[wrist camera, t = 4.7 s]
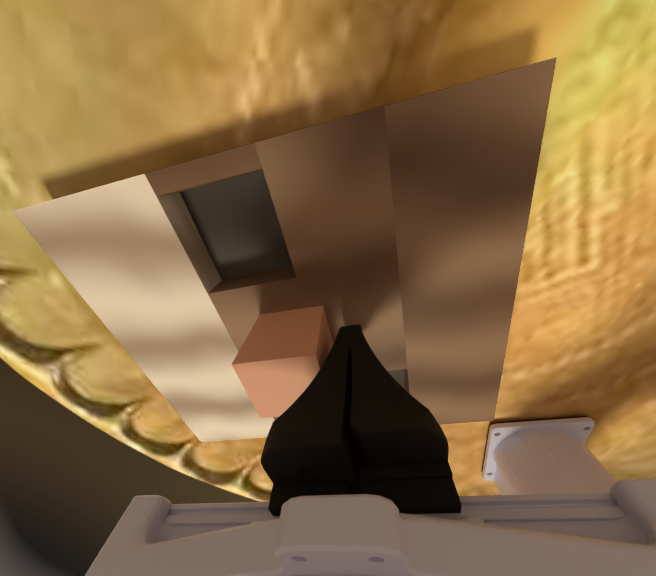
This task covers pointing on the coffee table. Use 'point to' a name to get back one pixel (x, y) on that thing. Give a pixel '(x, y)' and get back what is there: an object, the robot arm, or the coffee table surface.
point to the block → (282, 357)
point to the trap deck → (321, 248)
